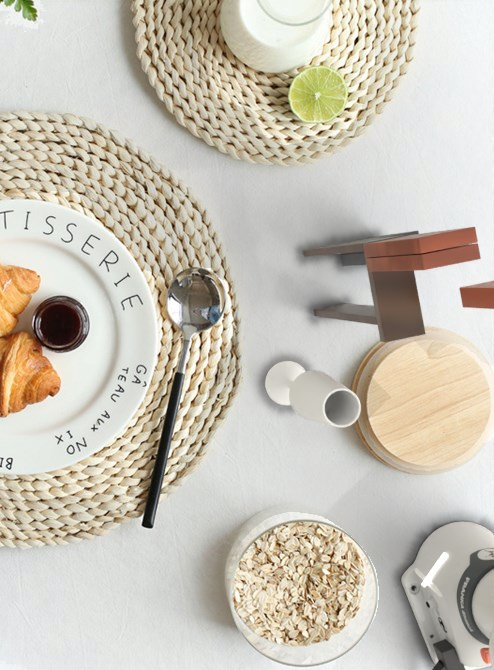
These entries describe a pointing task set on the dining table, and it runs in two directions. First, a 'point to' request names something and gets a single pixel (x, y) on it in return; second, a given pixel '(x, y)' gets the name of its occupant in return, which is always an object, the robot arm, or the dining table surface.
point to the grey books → (359, 257)
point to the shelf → (410, 275)
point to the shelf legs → (345, 310)
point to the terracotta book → (478, 295)
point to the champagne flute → (312, 394)
